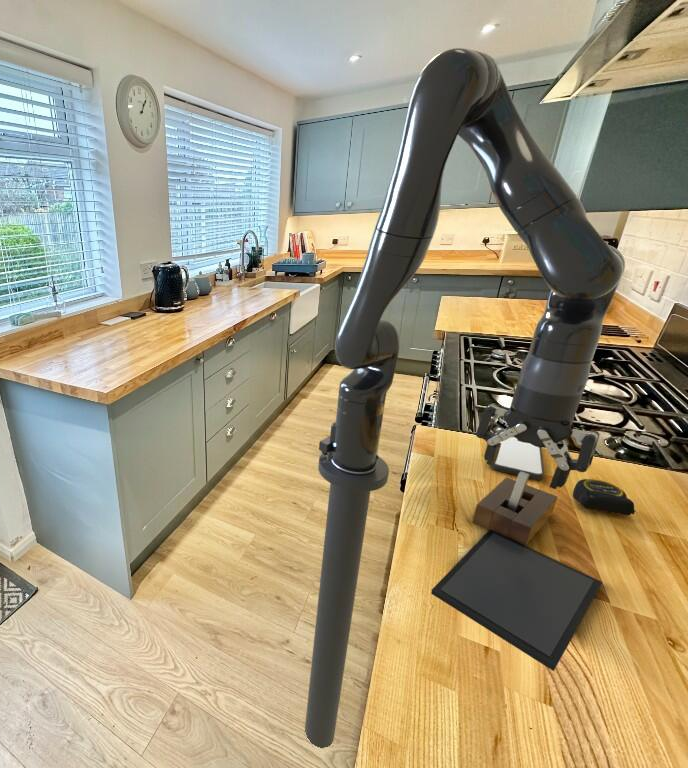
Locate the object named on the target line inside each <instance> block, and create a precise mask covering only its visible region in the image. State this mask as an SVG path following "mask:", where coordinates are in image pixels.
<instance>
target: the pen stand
mask: <svg viewBox="0 0 688 768" xmlns="http://www.w3.org/2000/svg"><path fill="white" fill-rule="evenodd" d="M515 483H516V479H513V478H510V477H508V476H506V477H505V478H504V479H503V480H502V481H500V482H499V483H498V484H497V485H496V486H495V487H494V488H492V489H491V490H490V492H489V493H487V495H485V496H484V497H483V498H482V499H481V500H480V501H479V502H478V503H477V504H476V507H475V511H474V514H473V518H472V521H471V522H472V523H473V524H474V525H477V526H478V527H481V528H482V529H485V530H487V531H489V530H490V529H491V530H493V531H495V532H497V533H499V534H501V535H504V536H506V537H508V538H510V539H512V540H514V541H516V542H518V543H521V544H523V545H525V546H528V544H529V543H530V542H531V541H532V539H533V538H534V537H535V535H536V534H537V533H538V532H539V531H540V530H541V528H542V527H543V526H544V525H545V524H546V522H547V521H548V520H549V518H550V517H551V516H552V515H553V512H554V508H555V506H556V503H557V500H558V498H559V497H558V496H557V495H554V494H552V493H549V492H548V491H544V490H542V489H539V488H536V487H533V486H531V485H529V484H526V487H525V490H524V493H523V495H522V498H521V501H520V504H519V507H518V510H517V512H514V511H511V510H509V509H507V506H508V503H509V500H510V497H511V495H512V492H513V489H514V486H515Z"/></svg>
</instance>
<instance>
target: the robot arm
mask: <svg viewBox="0 0 688 768" xmlns="http://www.w3.org/2000/svg"><path fill="white" fill-rule="evenodd" d="M405 115H406V116H405V120H404V125H403V130H402V135H401V139H400V144H399V149H398V153H397V157H396V161H395V165H394V168H393V170H392V174H391V177H390V179H389V183H388V186H387V189H386V193H385V196H384V199H383V202H382V205H381V209H380V212H379V215H378V217H377V220H376V223H375V227H374V230H373V232H372V236H371V240H370V243H369V246H368V248H367V253H366V256H365V261H364V262H363V263H364V264H363V267H362V270H361V272H360V276H359V278H358V281H357V284H356V287H355V290H354V292H353V296H352V298H351V300H350V303H349V306H348V307H347V310H346V312H345V314H344V317H343V319H342V321H341V324H340V326H339V328H338V331H337V334H336V337H335V343H334V353H335V357H336V360H337V361H338V363H339V364H340V366H341V367H343V368H345V369H348V370H352V371H351V372H350V373H349V374H347V375H346V376H345V377H343V378H342V379H341V381H340V382H339V386H338V396H337V405H336V406H337V407H336V415H335V421H334V422H333V423H332V424H331V425H330V434H329V436H327V437H325V438H324V439H321V440H319V442H318V443H319V445H318V450H319V451H320V452H321V454H322V453H323V455H324V456H325V455H328V461H330V462H332V464H333V466H334V467H335V468H337V469H338V470H340V471H342V472H344V473H347V474H352V475H367V474H370V473H372V472H374V471H375V469H376V461H377V460H378V458H379V457H380V456H379V455H378V451H379V445H380V438H381V432H382V425H383V419H384V412H385V405H386V399H387V394H388V391H389V390H390V389H391V386H392V384H393V381H394V377H395V372H396V369H397V368H396V367H397V364H398V358H399V353H400V335H399V332H398V329H397V328H396V327H395V325H394V324H393V323H391V322H390V321H388V320H385V319H382V317H383V315H384V314H385V311H386V310H387V308H388V306H389V305H390V303H391V302H392V301H393V299H395V297H396V296H397V295H398V294H399V293H400V292H401V291H402V289H403V288H404V287H405V286H406V285H407V284H408V283H409V281H410V280H411V279H412V278H413V277H414V276H415V274H416V273H417V272H418V271H419V269H420V267H421V266H422V265H423V262H424V260H425V258H426V255H427V253H428V250H429V247H430V246H431V243H432V241H433V238H434V235H435V233H436V229H437V226H438V223H439V218H440V212H441V199H442V198H441V197H442V186H443V177H444V172H445V169H446V164H447V162H448V159H449V156H450V154H451V151H452V149H453V147H454V144H455V142H456V140H457V137H458V136H459V138H461V140H462V141H464V143H465V144H467V145H468V147H469V148H470V150H471V151H472V152H473V153H474V155H475V156H476V158H477V160H478V161H479V163H480V166H481V167H482V169H483V172H484V174H485V177H486V181H487V183H488V186H489V189H490V191H491V194H492V196H493V199H494V201H495V203H496V204H497V206H498V208H499V210H500V211H501V213H502V214H503V215H504V217H505V218H506V220H507V221H508V223H509V224H510V225H511V227H512V229H513V230H514V231H515V232H516V234H517V235H518V237H519V239H521V240H522V241H523V243H524V244H525V245H526V247H527V248H528V250H529V253H530V255H531V258H532V260H533V261H534V263H535V266H536V267H537V269H538V271H539V273H540V275H541V277H542V278H543V281H544V282H545V283H546V285H547V286H548V288H549V289H550V290H549V294H548V297H547V301H546V304H545V308H544V312H543V314H542V315H541V316H540V318H539V320H538V322H537V324H536V327H535V328H534V332H533V334H532V338H531V341H530V346H529V349H528V352H527V355H526V357H525V359H524V361H523V363H522V366H521V369H520V371H519V373H518V377H517V382H516V386H515V390H514V392H513V393H514V394H513V396H512V399H511V403H510V407H509V408H508V409H506V408H502V407H500V406H499V404H498V403H495V402H493V403H490V404H489V405H488V406H486V407H485V408H484V410H483V412H482V416H481V419H480V421H479V424H478V427H477V430H476V432H475V436H476V438H478V439H482V440H483V441H485V442H486V444H487V445H486V449H485V452H484V455H483V458H484V460H485V461H486V464H487V465H489V466H490V465H491V466H492V465H493V464H494V463H495V462H496V460H497V457H498V454H499V450H500V447H501V443H500V442H502V441H505V440H507V439H509V438H511V437H513V436H514V437H515V438H516V439H518V440H517V441H520V442H524V443H530V444H532V445H534V446H536V447H539V448H541V449H542V448H546V450H547V452H548V454H549V455H550V457H552V458H553V459H554V461H555V463H556V465H557V467H556V468H555V470H554V473H553V476H552V479H551V481H550V484H549V488H551V489H553V490H557V488H562V487H563V486H564V485H565V484H566V483H567V481H568V478H569V476H570V473H571V471H576V472H579V473H586V472H587V471H588V469H589V468H590V467H591V465H592V463H593V460H594V456H595V452H596V449H597V446H598V442H599V439H600V435H601V434H600V432H598V431H597V430H596V429H595V430H593V429H592V430H589V431H586V430H581V429H577V428H575V427H574V420H575V416H576V413H577V411H578V408H579V405H580V403H581V400H582V397H583V394H584V391H585V389H586V385H587V383H588V380H589V377H590V373H591V365H592V362H593V360H594V356H595V353H596V350H597V348H598V345H599V342H600V338H601V334H602V331H603V324H604V319H605V317H606V314H607V313H608V310H609V308H610V306H611V303H612V301H613V299H614V296H615V294H616V291H617V289H618V287H619V284H620V282H621V279H622V277H623V275H624V272H625V268H626V261H625V258H624V256H623V254H622V252H621V251H620V250H619V249H618V248H616V247H615V246H613V245H611V244H608V243H607V242H606V241H605V240H604V239H603V237H602V235H600V233H599V232H598V231H597V229H596V228H595V227H594V225H593V224H592V223H591V222H590V220H589V219H588V217H587V211H586V210H585V207H584V205H583V203H582V202H581V200H580V199H579V197H578V196H577V194H576V193H575V192H574V190H573V188H571V186H570V185H569V184H568V182H567V180H566V179H565V178H564V177H563V175H562V174H561V173H560V170H558V169H557V167H556V166H555V165H554V163H553V162H552V161H551V159H550V158H549V157H548V156H547V154H546V153H545V152H544V150H543V149H542V147H541V146H540V145H539V144H538V142H537V141H536V139H535V138H534V137H533V135H532V134H531V132H530V131H529V129H528V128H527V126H526V124H525V122H524V120H523V119H522V117H521V115H520V113H519V110H518V109H517V107H516V105H515V103H514V101H513V98H512V96H511V93H510V91H509V89H508V86H507V84H506V81H505V79H504V76H503V75H502V72H501V69H500V67H499V65H498V62H497V61H496V60H495V58H493V56H491V55H489V54H487V53H485V52H483V51H477V50H473V49H470V48H463V47H455V48H450V49H447V50H444V51H442V52H440V53H439V54H437V55H436V56H434V57H433V58H432V59H431V60H430V61H429V62H428V63H427V64H426V66H425V67H424V68H423V69H422V71H421V72H420V74H419V76H418V77H417V79H416V81H415V83H414V85H413V88H412V91H411V95H410V97H409V101H408V106H407V111H406V114H405ZM501 417H503V419H504V421H505V423H506V425H507V427H506V428H504V429H503V430H500V431H499V432H496V433H497V434H494V433H495V432H492V431H491V430H492V428H493V424H494V422H495V421H496V420H499V418H501ZM570 437H573V439H575V443H576V445H578V446H580V449H579V453H578V456H577V458H576V459H575V458H573V457H572V455H571V453H570V451H569V447H568V445H567V443H566V442H565V440H567V439H569V438H570ZM328 452H329V454H327V453H328ZM378 456H379V457H378ZM376 459H377V460H376Z"/></svg>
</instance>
